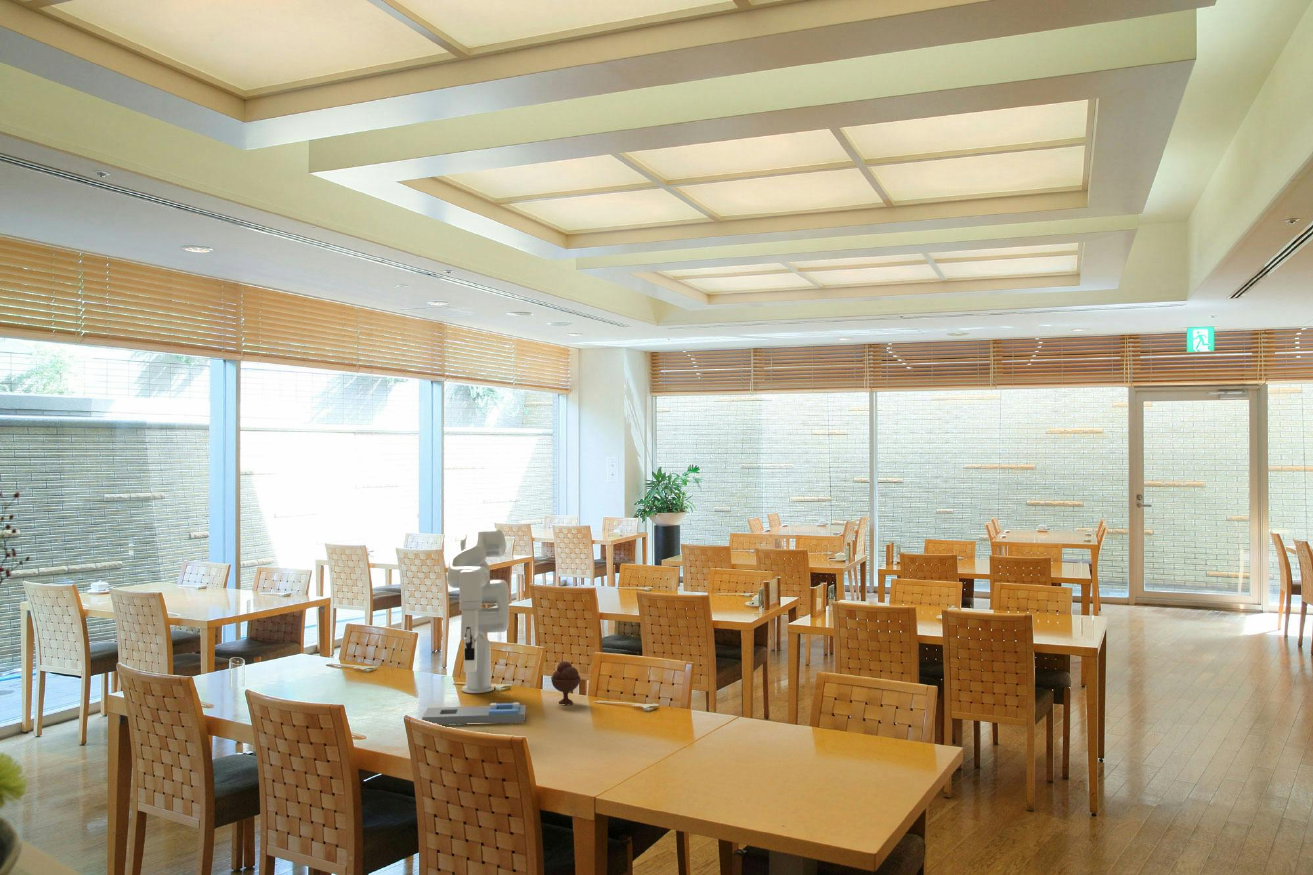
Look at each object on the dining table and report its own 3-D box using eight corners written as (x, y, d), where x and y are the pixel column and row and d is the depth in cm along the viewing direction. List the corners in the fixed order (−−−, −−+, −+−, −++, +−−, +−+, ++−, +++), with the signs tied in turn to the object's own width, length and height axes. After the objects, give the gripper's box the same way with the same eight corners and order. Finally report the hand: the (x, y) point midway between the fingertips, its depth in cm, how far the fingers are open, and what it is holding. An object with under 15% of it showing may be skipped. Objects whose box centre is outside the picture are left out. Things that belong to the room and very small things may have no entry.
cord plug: (465, 669, 321) (465, 634, 321) (477, 669, 321) (476, 634, 321) (463, 672, 317) (463, 636, 317) (475, 671, 317) (475, 636, 317)
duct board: (427, 716, 323) (427, 701, 323) (525, 713, 326) (525, 698, 327) (422, 726, 311) (422, 710, 311) (524, 722, 314) (524, 707, 315)
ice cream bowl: (545, 705, 337) (544, 663, 338) (562, 698, 347) (561, 657, 347) (569, 708, 332) (569, 666, 333) (586, 701, 342) (585, 660, 342)
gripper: (463, 601, 328) (463, 653, 327) (455, 609, 311) (455, 664, 311) (484, 601, 328) (484, 653, 328) (478, 609, 311) (478, 663, 311)
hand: (470, 657), depth 319 cm, fingers closed on cord plug, 4 cm apart
